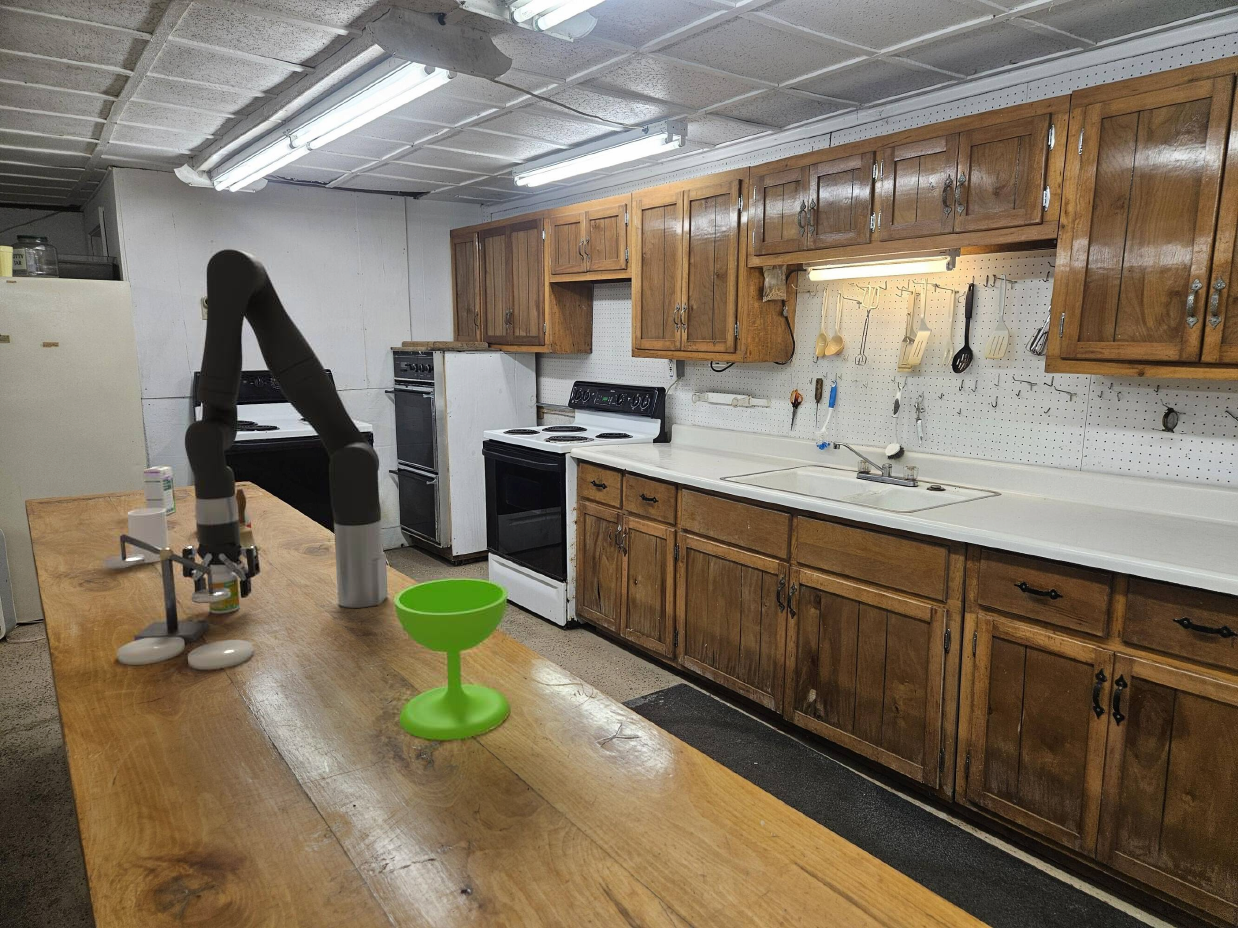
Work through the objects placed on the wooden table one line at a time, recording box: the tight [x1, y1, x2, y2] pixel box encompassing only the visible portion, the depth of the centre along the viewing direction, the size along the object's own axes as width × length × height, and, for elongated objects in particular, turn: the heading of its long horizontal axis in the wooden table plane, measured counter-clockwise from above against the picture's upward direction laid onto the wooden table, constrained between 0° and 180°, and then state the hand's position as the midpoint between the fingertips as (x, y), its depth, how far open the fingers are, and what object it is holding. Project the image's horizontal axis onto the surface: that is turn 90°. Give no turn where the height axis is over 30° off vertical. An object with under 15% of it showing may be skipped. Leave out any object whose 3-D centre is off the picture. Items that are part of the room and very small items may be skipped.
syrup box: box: [142, 465, 177, 516], centre depth 240 cm, size 6×6×14 cm
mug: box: [126, 507, 170, 564], centre depth 194 cm, size 12×8×12 cm
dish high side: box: [117, 636, 186, 666], centre depth 136 cm, size 10×10×1 cm
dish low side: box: [187, 639, 254, 671], centre depth 134 cm, size 10×10×1 cm
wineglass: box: [393, 577, 511, 741], centre depth 113 cm, size 16×16×18 cm
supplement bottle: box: [206, 565, 240, 614], centre depth 157 cm, size 5×5×10 cm
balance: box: [102, 533, 231, 644], centre depth 142 cm, size 21×7×19 cm, turn 95°
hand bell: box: [235, 488, 262, 551], centre depth 200 cm, size 8×8×16 cm
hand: (223, 596), depth 157 cm, fingers open, 8 cm apart
